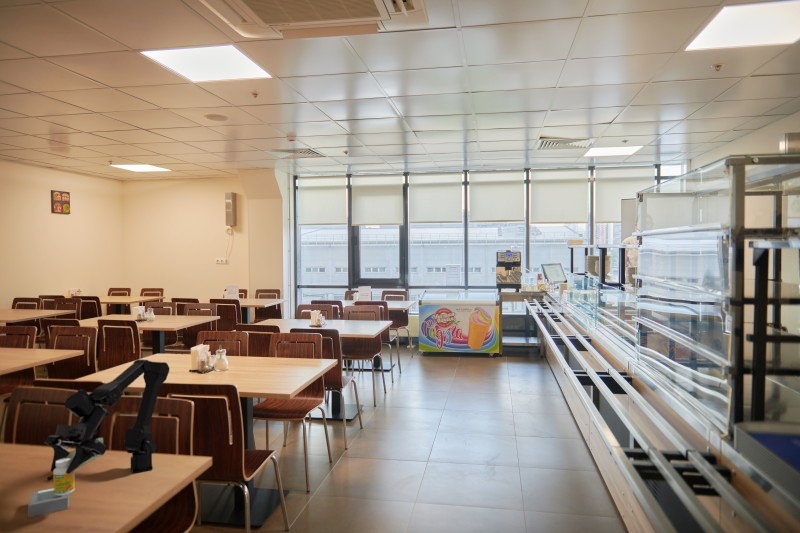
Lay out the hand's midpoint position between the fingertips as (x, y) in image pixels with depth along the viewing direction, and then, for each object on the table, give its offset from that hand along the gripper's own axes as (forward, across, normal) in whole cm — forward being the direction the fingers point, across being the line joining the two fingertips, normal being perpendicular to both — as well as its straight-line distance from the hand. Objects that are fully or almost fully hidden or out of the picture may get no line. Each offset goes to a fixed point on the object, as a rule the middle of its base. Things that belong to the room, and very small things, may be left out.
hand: (59, 472), depth 155 cm
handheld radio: (-11, -25, +31) cm, 41 cm away
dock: (+7, -8, +12) cm, 16 cm away
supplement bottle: (+4, 0, +6) cm, 7 cm away
